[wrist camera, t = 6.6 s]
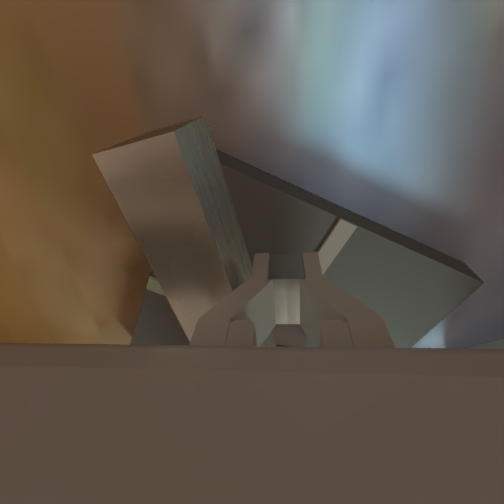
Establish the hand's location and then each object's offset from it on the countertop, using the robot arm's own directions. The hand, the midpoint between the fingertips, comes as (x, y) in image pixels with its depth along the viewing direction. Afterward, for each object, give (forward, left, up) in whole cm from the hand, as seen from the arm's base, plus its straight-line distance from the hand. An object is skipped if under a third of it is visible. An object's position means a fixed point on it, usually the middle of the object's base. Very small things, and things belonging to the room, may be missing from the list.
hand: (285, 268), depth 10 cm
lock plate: (-8, -3, -8) cm, 12 cm away
